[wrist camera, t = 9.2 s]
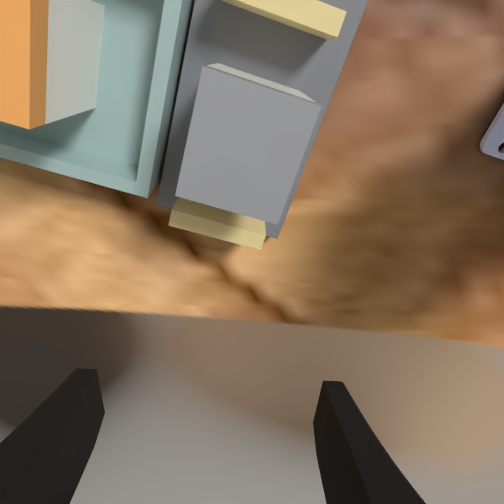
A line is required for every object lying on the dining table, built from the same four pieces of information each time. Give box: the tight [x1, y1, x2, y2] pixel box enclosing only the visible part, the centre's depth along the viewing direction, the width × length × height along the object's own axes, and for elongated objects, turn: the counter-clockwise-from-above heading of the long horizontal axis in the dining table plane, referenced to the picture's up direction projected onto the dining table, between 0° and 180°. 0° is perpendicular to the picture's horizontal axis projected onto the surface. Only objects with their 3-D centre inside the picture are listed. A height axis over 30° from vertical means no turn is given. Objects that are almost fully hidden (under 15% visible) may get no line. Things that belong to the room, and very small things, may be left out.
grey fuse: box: [175, 63, 322, 225], centre depth 14 cm, size 4×4×6 cm
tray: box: [0, 0, 194, 198], centre depth 14 cm, size 10×9×2 cm
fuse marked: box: [0, 0, 105, 129], centre depth 13 cm, size 4×4×6 cm
